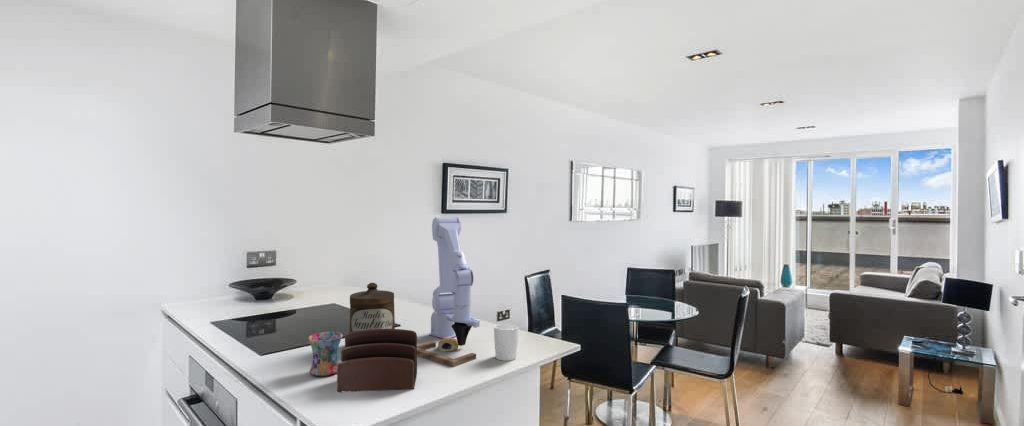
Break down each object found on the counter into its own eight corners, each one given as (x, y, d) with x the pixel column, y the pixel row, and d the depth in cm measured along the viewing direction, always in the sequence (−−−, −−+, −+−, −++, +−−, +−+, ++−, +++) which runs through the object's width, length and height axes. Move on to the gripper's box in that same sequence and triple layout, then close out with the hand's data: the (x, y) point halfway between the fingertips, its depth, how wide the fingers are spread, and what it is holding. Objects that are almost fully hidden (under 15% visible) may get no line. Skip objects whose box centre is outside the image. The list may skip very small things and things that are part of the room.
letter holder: (345, 378, 131) (345, 328, 131) (417, 376, 134) (417, 327, 134) (336, 393, 121) (336, 339, 121) (414, 390, 124) (414, 337, 124)
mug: (331, 379, 130) (331, 341, 130) (301, 377, 132) (301, 339, 132) (352, 365, 142) (353, 330, 142) (324, 363, 144) (324, 328, 143)
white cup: (489, 359, 149) (489, 327, 149) (501, 352, 156) (501, 322, 156) (511, 363, 145) (511, 331, 145) (522, 356, 152) (522, 325, 152)
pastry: (442, 343, 165) (442, 333, 165) (461, 344, 165) (461, 333, 165) (436, 352, 156) (436, 340, 156) (456, 352, 156) (456, 341, 156)
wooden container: (349, 355, 151) (349, 287, 151) (349, 342, 165) (349, 280, 165) (396, 351, 156) (396, 285, 155) (392, 339, 170) (393, 278, 169)
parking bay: (408, 352, 154) (408, 348, 154) (431, 345, 162) (431, 341, 162) (453, 366, 141) (453, 362, 141) (476, 358, 149) (476, 353, 149)
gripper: (485, 306, 157) (485, 346, 157) (455, 300, 166) (455, 338, 166) (471, 309, 152) (470, 351, 152) (440, 303, 161) (440, 342, 161)
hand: (461, 344), depth 159 cm, fingers closed
